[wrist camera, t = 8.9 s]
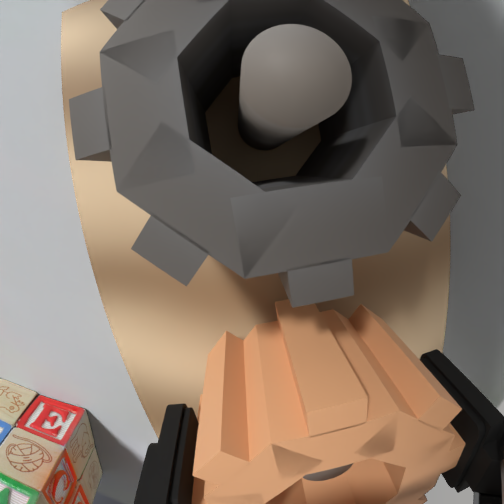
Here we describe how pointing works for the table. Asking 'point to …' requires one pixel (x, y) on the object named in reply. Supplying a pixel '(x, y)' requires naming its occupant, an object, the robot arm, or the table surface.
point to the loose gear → (321, 414)
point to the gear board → (258, 172)
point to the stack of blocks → (45, 450)
